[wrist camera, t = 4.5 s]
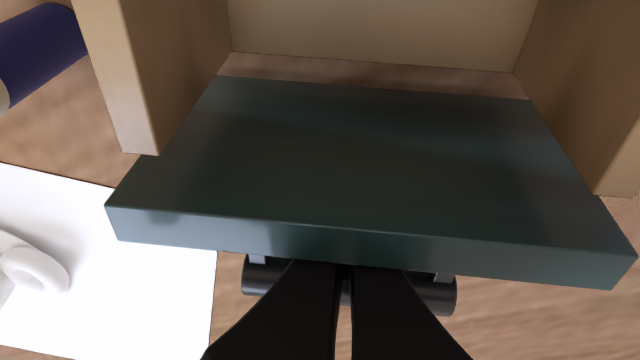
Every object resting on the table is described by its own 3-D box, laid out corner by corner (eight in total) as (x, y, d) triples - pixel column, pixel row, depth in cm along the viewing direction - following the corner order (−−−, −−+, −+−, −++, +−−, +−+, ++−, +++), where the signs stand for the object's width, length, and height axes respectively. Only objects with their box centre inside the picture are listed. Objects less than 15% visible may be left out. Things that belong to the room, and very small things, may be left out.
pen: (100, 61, 15) (-6, 143, 11) (40, 56, 15) (-88, 135, 11) (81, 2, 14) (-48, 69, 10) (15, -2, 14) (-141, 61, 10)
